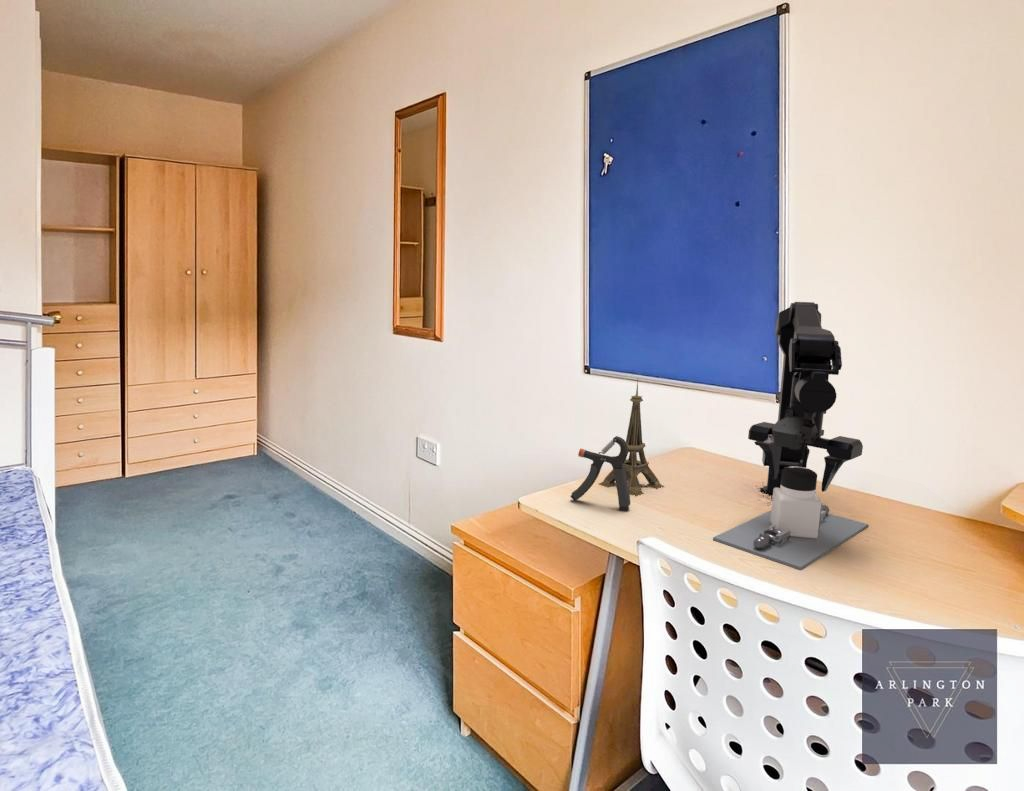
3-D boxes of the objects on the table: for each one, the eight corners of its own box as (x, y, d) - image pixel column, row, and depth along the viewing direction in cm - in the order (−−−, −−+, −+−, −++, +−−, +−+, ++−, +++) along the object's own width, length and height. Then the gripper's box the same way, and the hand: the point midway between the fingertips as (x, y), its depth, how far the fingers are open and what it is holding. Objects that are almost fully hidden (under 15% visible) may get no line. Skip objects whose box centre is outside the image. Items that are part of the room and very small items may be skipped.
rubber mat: (787, 504, 138) (787, 502, 138) (868, 526, 126) (868, 524, 126) (712, 539, 118) (713, 537, 118) (800, 569, 106) (800, 567, 106)
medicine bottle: (818, 539, 118) (825, 476, 116) (777, 535, 119) (783, 473, 117) (808, 525, 125) (815, 465, 123) (769, 521, 126) (775, 462, 124)
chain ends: (816, 510, 133) (817, 501, 133) (834, 515, 131) (835, 506, 130) (746, 547, 114) (747, 536, 113) (766, 554, 111) (767, 543, 111)
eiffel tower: (626, 476, 156) (633, 373, 151) (664, 487, 148) (671, 379, 144) (598, 484, 149) (604, 376, 144) (636, 496, 141) (643, 383, 137)
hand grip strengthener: (572, 498, 138) (575, 430, 136) (630, 508, 133) (634, 437, 130) (569, 502, 136) (572, 432, 134) (627, 512, 131) (631, 440, 128)
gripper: (737, 399, 119) (730, 480, 122) (843, 416, 106) (832, 507, 108) (766, 393, 127) (758, 470, 129) (868, 408, 113) (857, 494, 116)
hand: (798, 484), depth 121 cm, fingers open, 9 cm apart
